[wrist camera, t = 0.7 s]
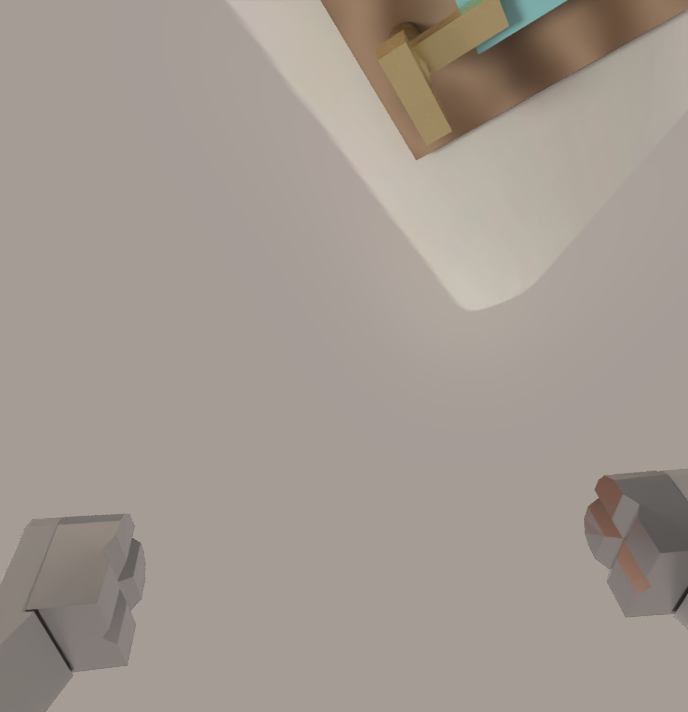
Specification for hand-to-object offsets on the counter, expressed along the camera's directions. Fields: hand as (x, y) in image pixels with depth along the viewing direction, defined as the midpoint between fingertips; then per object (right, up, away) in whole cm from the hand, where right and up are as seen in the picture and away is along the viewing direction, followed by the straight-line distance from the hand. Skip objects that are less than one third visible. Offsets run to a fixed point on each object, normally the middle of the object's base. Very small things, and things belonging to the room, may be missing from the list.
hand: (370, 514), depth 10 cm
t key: (+7, +29, +33) cm, 44 cm away
